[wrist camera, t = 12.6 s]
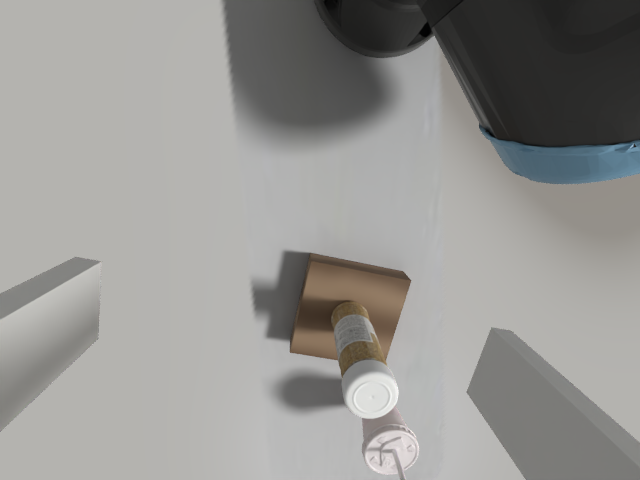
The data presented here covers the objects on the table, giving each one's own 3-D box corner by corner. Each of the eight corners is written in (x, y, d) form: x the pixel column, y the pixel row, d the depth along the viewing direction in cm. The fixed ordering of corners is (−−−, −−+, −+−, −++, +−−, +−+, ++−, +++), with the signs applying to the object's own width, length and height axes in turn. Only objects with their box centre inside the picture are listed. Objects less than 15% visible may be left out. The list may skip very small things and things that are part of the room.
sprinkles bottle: (368, 332, 40) (399, 419, 27) (330, 335, 40) (344, 423, 27) (368, 298, 39) (400, 371, 26) (329, 300, 39) (343, 375, 26)
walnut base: (310, 252, 40) (311, 260, 37) (403, 271, 42) (411, 280, 39) (290, 338, 43) (289, 352, 40) (377, 353, 45) (383, 367, 42)
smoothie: (403, 380, 46) (446, 476, 33) (383, 416, 48) (416, 522, 34) (362, 366, 45) (389, 459, 32) (342, 403, 47) (361, 507, 33)
